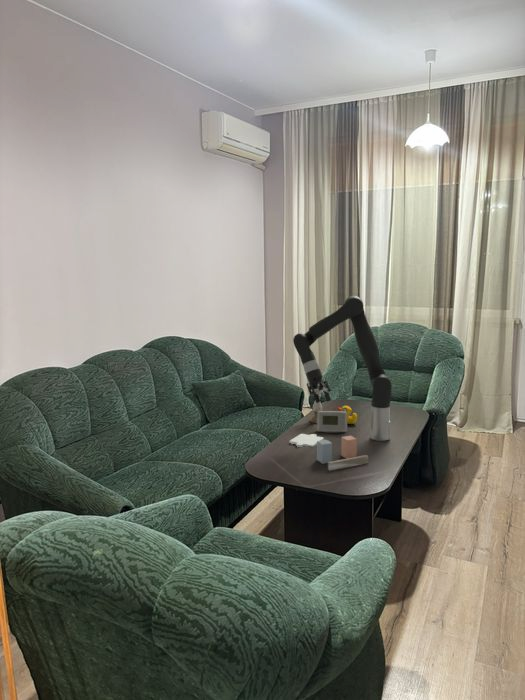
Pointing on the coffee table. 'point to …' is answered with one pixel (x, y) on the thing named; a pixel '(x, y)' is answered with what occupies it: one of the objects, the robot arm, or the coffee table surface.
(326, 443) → the grey blue rectangular block
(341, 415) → the digital clock
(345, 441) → the reddish brown block
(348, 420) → the duckling
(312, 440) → the mounting plate
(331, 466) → the wooden tray
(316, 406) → the candle holder
